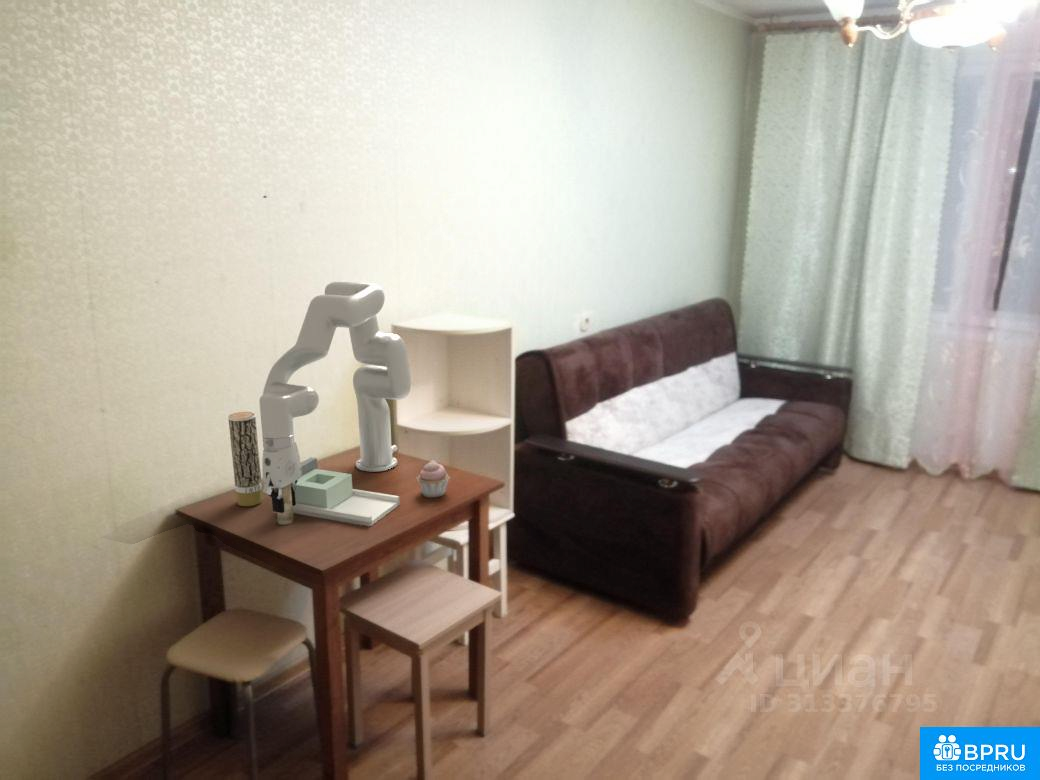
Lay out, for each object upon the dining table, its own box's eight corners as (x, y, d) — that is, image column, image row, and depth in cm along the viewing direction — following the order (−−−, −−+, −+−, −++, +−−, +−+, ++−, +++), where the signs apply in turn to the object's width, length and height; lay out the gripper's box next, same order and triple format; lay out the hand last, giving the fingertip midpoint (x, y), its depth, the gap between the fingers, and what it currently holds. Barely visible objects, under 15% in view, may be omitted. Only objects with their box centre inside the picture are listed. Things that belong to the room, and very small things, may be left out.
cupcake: (450, 487, 226) (449, 454, 224) (450, 499, 217) (449, 465, 215) (417, 487, 226) (416, 455, 223) (416, 500, 217) (414, 466, 214)
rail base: (313, 490, 223) (310, 457, 221) (399, 504, 214) (398, 470, 211) (279, 510, 210) (276, 475, 207) (370, 526, 200) (368, 490, 198)
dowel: (285, 517, 206) (281, 474, 202) (297, 519, 204) (293, 476, 201) (274, 522, 202) (270, 479, 199) (286, 525, 200) (282, 481, 197)
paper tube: (231, 504, 214) (222, 417, 207) (249, 496, 219) (241, 410, 213) (250, 509, 211) (241, 420, 204) (268, 500, 217) (260, 413, 210)
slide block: (316, 488, 221) (314, 468, 219) (352, 494, 217) (351, 474, 215) (289, 504, 210) (287, 483, 209) (327, 511, 206) (325, 489, 204)
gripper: (269, 453, 188) (275, 523, 193) (311, 432, 203) (316, 498, 208) (244, 449, 191) (251, 518, 196) (287, 429, 206) (292, 494, 211)
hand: (284, 507), depth 202 cm, fingers closed on dowel, 3 cm apart
